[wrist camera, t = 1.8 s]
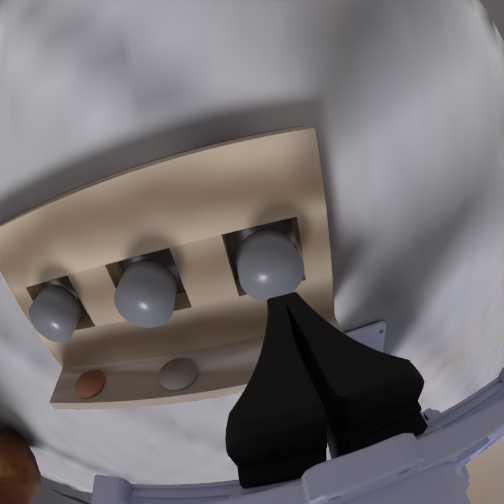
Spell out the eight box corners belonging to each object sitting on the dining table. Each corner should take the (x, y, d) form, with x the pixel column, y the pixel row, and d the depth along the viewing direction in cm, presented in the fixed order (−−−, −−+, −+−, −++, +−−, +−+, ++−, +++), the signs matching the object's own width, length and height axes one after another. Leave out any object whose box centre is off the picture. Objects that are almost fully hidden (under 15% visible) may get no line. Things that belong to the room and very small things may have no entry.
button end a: (298, 274, 19) (307, 292, 17) (243, 288, 19) (246, 307, 17) (290, 223, 17) (299, 237, 15) (229, 237, 17) (232, 253, 15)
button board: (326, 310, 23) (354, 364, 17) (74, 360, 22) (56, 409, 17) (304, 126, 16) (346, 134, 11) (-2, 225, 16) (-48, 262, 11)
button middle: (184, 301, 19) (182, 321, 17) (135, 312, 19) (129, 331, 17) (165, 253, 17) (160, 270, 15) (113, 267, 17) (104, 284, 15)
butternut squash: (-27, 405, 26) (-60, 513, 4) (23, 423, 28) (-6, 553, 6) (12, 446, 33) (-8, 540, 10) (61, 461, 34) (47, 569, 12)
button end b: (89, 321, 18) (81, 339, 17) (55, 327, 18) (46, 344, 17) (66, 280, 17) (55, 297, 15) (32, 289, 17) (20, 305, 15)
